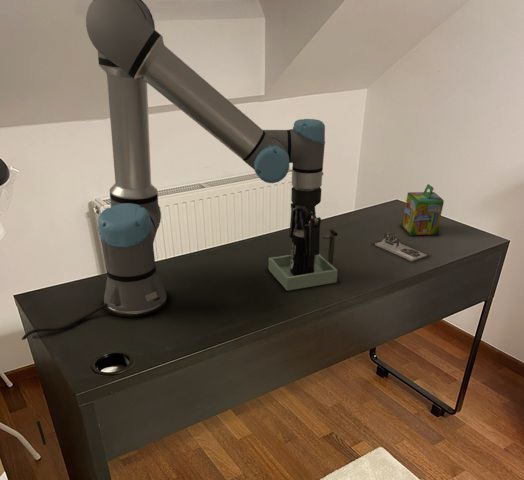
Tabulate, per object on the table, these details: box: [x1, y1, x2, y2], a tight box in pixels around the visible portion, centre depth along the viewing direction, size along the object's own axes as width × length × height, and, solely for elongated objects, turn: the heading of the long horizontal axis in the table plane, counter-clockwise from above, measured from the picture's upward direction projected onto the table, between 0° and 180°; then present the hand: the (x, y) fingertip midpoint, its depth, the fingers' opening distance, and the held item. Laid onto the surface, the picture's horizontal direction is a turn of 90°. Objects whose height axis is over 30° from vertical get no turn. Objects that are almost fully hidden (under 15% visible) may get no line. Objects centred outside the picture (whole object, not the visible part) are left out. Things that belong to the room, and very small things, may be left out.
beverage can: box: [290, 229, 315, 276], centre depth 141 cm, size 7×7×12 cm
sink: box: [268, 253, 339, 291], centre depth 144 cm, size 15×14×4 cm
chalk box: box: [401, 183, 445, 236], centre depth 170 cm, size 9×9×15 cm
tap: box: [322, 229, 338, 266], centre depth 144 cm, size 4×3×12 cm
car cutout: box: [374, 230, 428, 262], centre depth 159 cm, size 15×7×4 cm, turn 35°
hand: (302, 270), depth 144 cm, fingers open, 7 cm apart
